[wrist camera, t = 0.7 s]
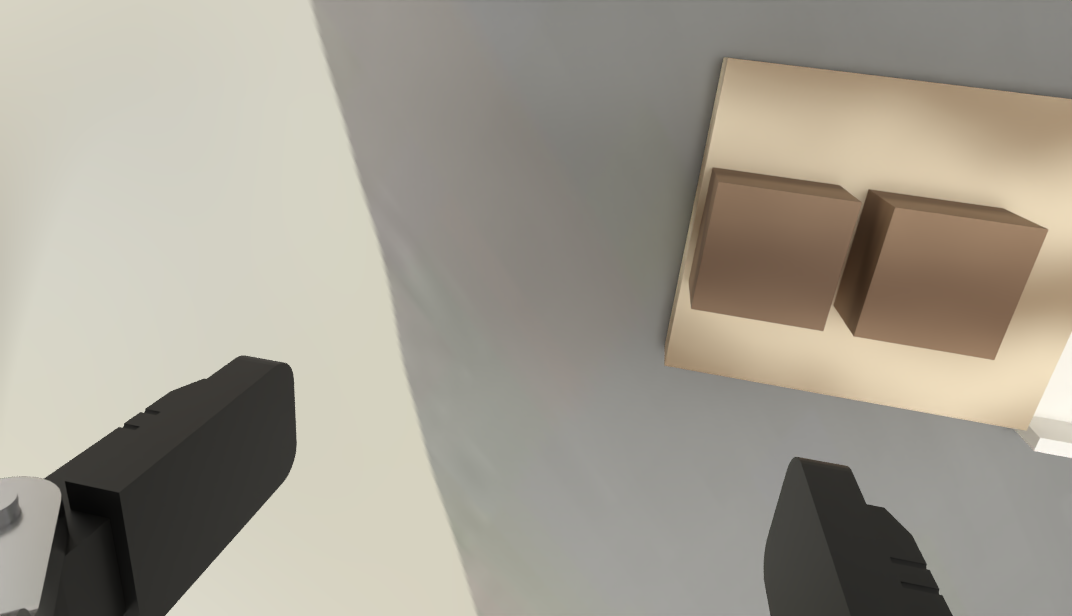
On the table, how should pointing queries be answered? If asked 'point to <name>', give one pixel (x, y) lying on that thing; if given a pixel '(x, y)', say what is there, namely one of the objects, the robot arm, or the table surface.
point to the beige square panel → (859, 165)
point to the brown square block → (771, 248)
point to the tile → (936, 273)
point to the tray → (1054, 412)
